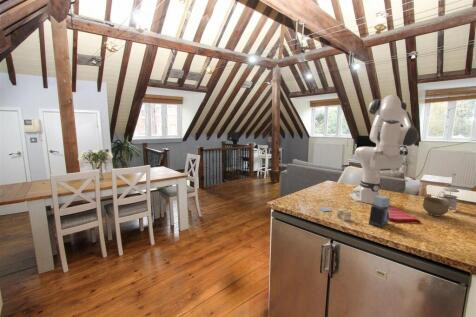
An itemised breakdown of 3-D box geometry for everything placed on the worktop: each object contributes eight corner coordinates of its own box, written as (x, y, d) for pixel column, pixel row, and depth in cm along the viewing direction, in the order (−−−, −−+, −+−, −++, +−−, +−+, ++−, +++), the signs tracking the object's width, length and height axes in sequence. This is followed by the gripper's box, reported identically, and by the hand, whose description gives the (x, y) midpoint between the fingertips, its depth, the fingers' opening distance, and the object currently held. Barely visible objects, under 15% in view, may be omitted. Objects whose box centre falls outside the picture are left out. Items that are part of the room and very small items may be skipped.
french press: (461, 213, 153) (468, 175, 149) (440, 211, 155) (447, 174, 151) (451, 208, 162) (457, 172, 158) (431, 206, 164) (437, 171, 161)
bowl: (437, 220, 140) (440, 203, 138) (416, 212, 152) (418, 197, 150) (453, 218, 143) (455, 202, 141) (431, 210, 155) (433, 196, 154)
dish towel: (390, 222, 134) (390, 218, 134) (370, 208, 158) (370, 204, 157) (421, 224, 133) (422, 220, 133) (396, 209, 157) (397, 205, 156)
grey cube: (373, 204, 131) (374, 195, 130) (380, 203, 133) (381, 195, 132) (381, 207, 126) (382, 198, 126) (388, 206, 128) (389, 198, 127)
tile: (318, 208, 152) (318, 207, 152) (327, 208, 153) (327, 207, 153) (322, 211, 147) (322, 210, 146) (331, 211, 147) (332, 210, 147)
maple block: (336, 217, 138) (337, 209, 137) (343, 216, 140) (344, 208, 139) (343, 221, 134) (344, 212, 133) (350, 219, 135) (351, 211, 135)
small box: (381, 228, 125) (383, 209, 124) (368, 224, 130) (370, 205, 129) (388, 223, 132) (391, 205, 130) (376, 219, 137) (378, 202, 135)
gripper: (378, 152, 119) (375, 179, 121) (406, 151, 126) (403, 177, 128) (368, 150, 124) (365, 176, 126) (395, 150, 132) (392, 174, 134)
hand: (384, 176), depth 127 cm, fingers open, 8 cm apart
